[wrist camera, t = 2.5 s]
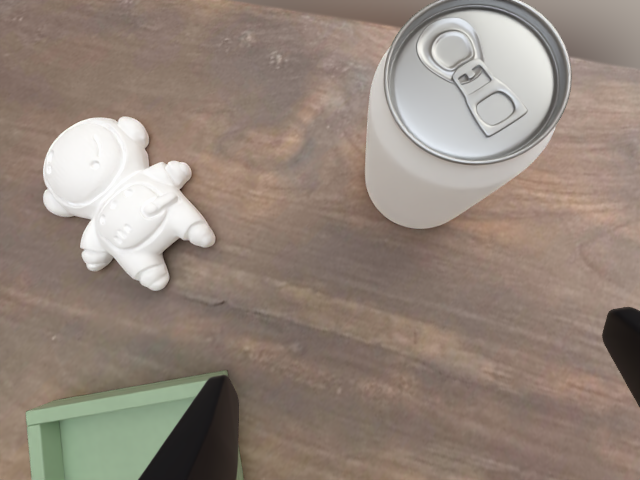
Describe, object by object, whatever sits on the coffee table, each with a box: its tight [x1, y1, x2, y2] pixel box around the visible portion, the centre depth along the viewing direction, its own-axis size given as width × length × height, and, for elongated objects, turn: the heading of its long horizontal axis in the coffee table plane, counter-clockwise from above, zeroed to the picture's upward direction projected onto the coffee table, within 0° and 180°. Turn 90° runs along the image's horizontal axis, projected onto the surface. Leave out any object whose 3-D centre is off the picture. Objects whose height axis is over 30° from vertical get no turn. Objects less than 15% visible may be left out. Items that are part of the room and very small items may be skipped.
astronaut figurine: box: [43, 117, 215, 291], centre depth 24 cm, size 9×12×3 cm
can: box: [365, 0, 572, 229], centre depth 18 cm, size 6×6×12 cm
